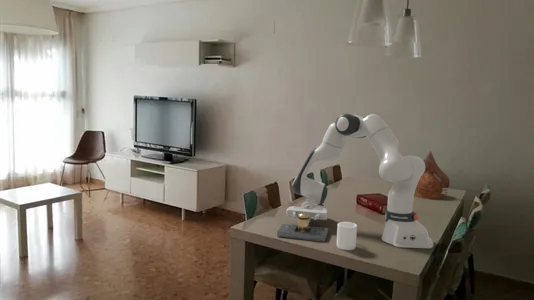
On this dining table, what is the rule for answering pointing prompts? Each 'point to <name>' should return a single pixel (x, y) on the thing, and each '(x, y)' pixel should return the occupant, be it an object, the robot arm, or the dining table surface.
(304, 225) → the gold cylinder
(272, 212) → the dining table surface
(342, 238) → the cup
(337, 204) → the dining table surface
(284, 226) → the grey recessed slab
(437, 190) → the decorative ornament
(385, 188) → the dining table surface
